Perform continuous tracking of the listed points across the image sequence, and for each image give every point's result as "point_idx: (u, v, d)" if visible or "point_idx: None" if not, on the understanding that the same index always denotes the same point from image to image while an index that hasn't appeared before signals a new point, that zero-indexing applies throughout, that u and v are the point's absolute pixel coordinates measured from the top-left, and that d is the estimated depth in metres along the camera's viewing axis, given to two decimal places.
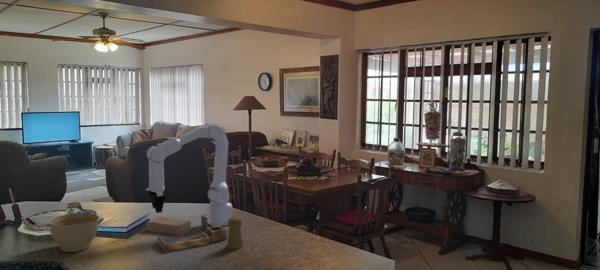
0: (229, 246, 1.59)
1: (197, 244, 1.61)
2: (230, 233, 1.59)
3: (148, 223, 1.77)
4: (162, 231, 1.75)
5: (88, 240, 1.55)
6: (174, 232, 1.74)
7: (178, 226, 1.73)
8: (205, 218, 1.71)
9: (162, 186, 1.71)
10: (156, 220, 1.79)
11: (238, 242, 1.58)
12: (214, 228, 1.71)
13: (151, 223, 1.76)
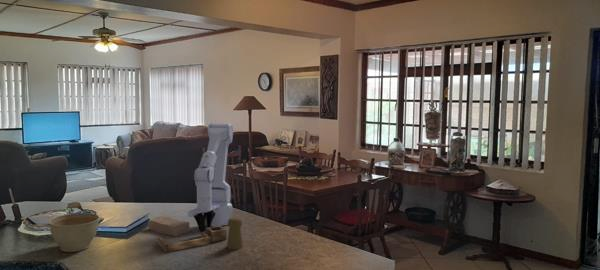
0: (229, 246, 1.59)
1: (197, 244, 1.61)
2: (230, 233, 1.59)
3: (149, 222, 1.79)
4: (160, 230, 1.76)
5: (88, 240, 1.55)
6: (170, 233, 1.73)
7: (173, 227, 1.72)
8: (205, 218, 1.71)
9: (203, 208, 1.69)
10: (158, 219, 1.80)
11: (238, 242, 1.58)
12: (214, 228, 1.71)
13: (151, 222, 1.78)
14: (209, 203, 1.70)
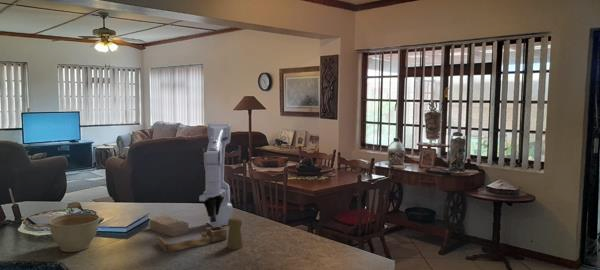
0: (229, 246, 1.59)
1: (197, 244, 1.61)
2: (230, 233, 1.59)
3: (150, 221, 1.80)
4: (160, 230, 1.76)
5: (88, 240, 1.55)
6: (168, 233, 1.73)
7: (171, 227, 1.71)
8: None
9: (213, 192, 1.66)
10: (158, 219, 1.81)
11: (238, 242, 1.58)
12: (214, 228, 1.71)
13: (152, 221, 1.79)
14: (219, 187, 1.67)
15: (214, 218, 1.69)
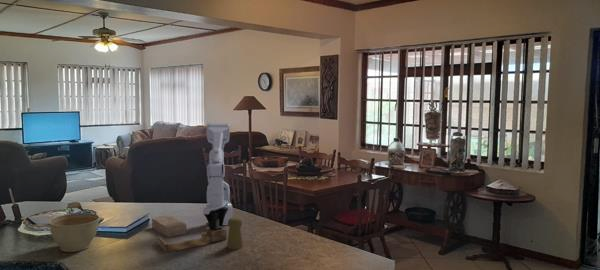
0: (229, 246, 1.59)
1: (197, 244, 1.61)
2: (230, 233, 1.59)
3: (152, 220, 1.81)
4: (159, 230, 1.76)
5: (88, 240, 1.55)
6: (165, 233, 1.72)
7: (167, 228, 1.71)
8: (218, 221, 1.68)
9: (217, 204, 1.66)
10: (160, 218, 1.81)
11: (238, 242, 1.58)
12: None
13: (153, 220, 1.80)
14: (222, 199, 1.67)
15: None
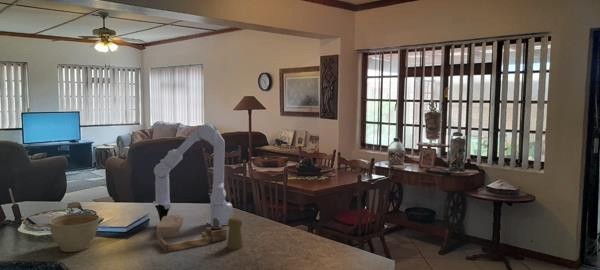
0: (229, 246, 1.59)
1: (197, 244, 1.61)
2: (230, 233, 1.59)
3: None
4: None
5: (88, 240, 1.55)
6: None
7: None
8: (218, 221, 1.68)
9: (168, 199, 1.85)
10: (168, 217, 1.82)
11: (238, 242, 1.58)
12: None
13: (162, 218, 1.83)
14: None
15: None
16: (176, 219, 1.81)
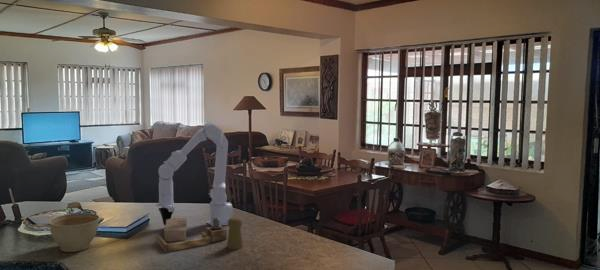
0: (229, 246, 1.59)
1: (197, 244, 1.61)
2: (230, 233, 1.59)
3: (166, 221, 1.79)
4: None
5: (88, 240, 1.55)
6: None
7: (164, 231, 1.66)
8: (218, 221, 1.68)
9: (172, 202, 1.80)
10: (172, 220, 1.78)
11: (238, 242, 1.58)
12: None
13: None
14: None
15: None
16: (181, 222, 1.77)
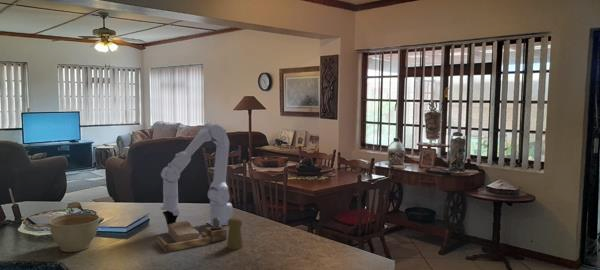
0: (229, 246, 1.59)
1: (197, 244, 1.61)
2: (230, 233, 1.59)
3: (168, 226, 1.73)
4: (172, 237, 1.68)
5: (88, 240, 1.55)
6: (176, 241, 1.63)
7: (178, 235, 1.62)
8: (218, 221, 1.68)
9: (176, 205, 1.75)
10: (176, 224, 1.73)
11: (238, 242, 1.58)
12: None
13: (169, 226, 1.72)
14: None
15: None
16: (187, 225, 1.73)
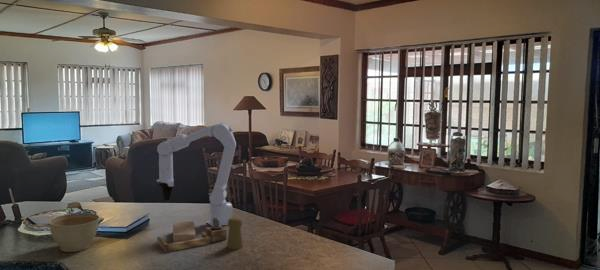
0: (229, 246, 1.59)
1: (197, 244, 1.61)
2: (230, 233, 1.59)
3: (173, 225, 1.75)
4: None
5: (88, 240, 1.55)
6: None
7: (173, 235, 1.62)
8: (217, 221, 1.68)
9: (171, 178, 1.86)
10: (180, 224, 1.74)
11: (238, 242, 1.58)
12: None
13: (173, 225, 1.74)
14: None
15: None
16: (189, 226, 1.73)
